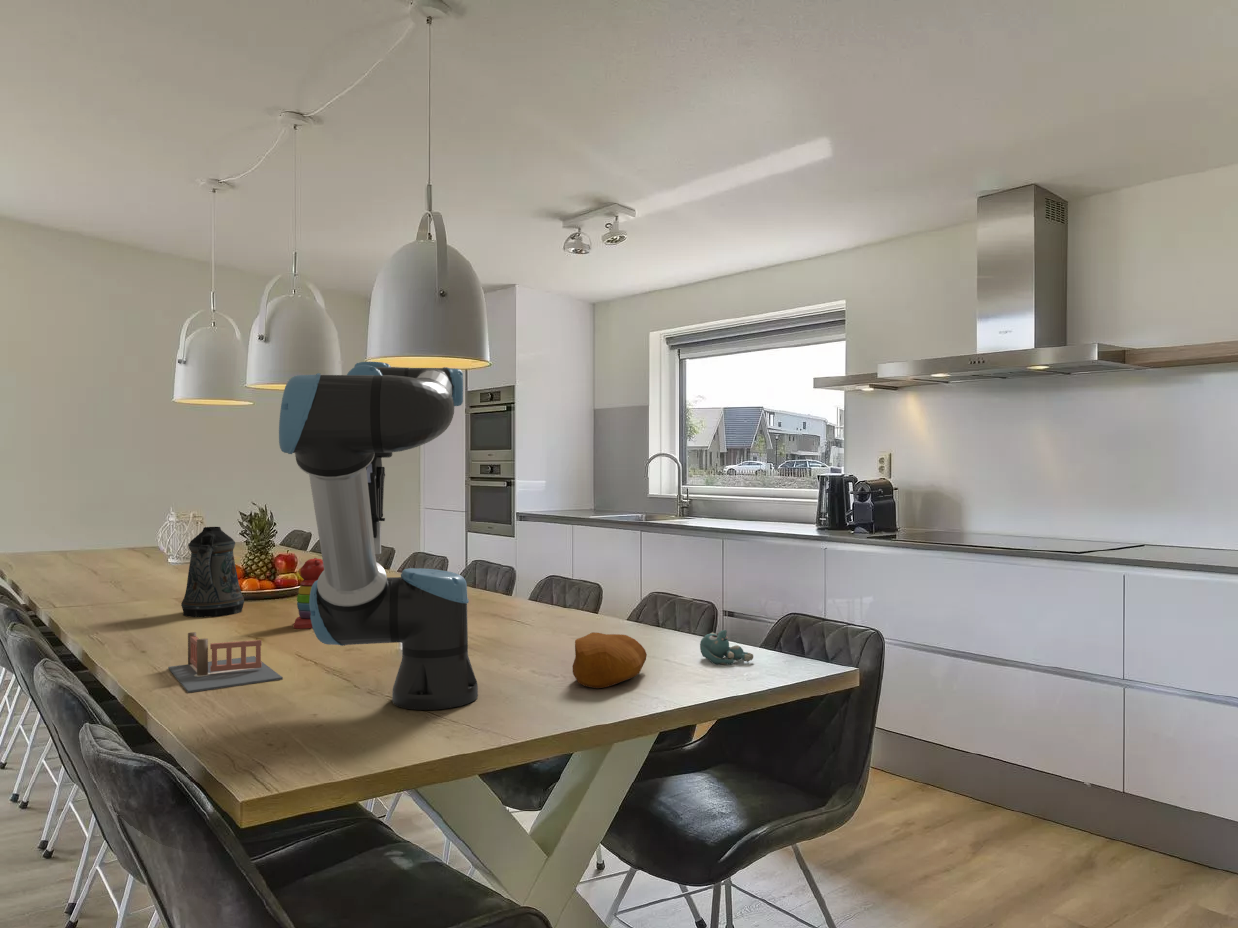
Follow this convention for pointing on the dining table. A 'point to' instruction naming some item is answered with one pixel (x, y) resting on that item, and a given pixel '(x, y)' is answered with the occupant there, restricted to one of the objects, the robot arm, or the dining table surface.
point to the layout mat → (222, 676)
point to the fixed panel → (198, 653)
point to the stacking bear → (307, 591)
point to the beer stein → (212, 576)
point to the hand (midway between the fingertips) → (373, 553)
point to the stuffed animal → (722, 649)
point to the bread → (607, 659)
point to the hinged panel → (229, 655)
